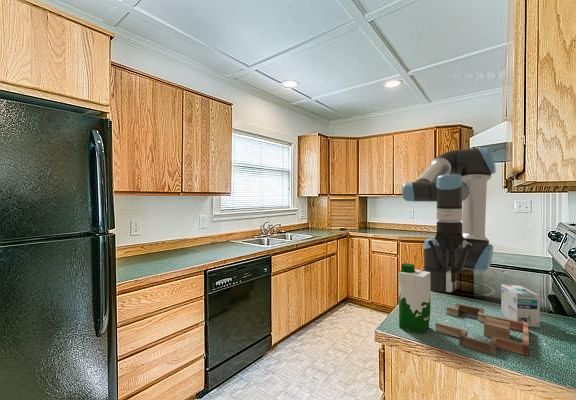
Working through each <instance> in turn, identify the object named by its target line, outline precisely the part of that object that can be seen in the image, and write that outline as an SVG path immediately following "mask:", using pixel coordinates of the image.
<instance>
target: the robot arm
mask: <svg viewBox="0 0 576 400" xmlns="http://www.w3.org/2000/svg"><path fill="white" fill-rule="evenodd" d="M495 161H496V160H495V156H494V151H493V149H492V148H490V147H474V148H463V149H453V150H448V151H447V152H444V153H440V154H439V155H438V156H436V157H435V158H433V159H432V160H431V162H429V164H428V167H427V168H426V170H425V171H424V172H423V173H422V174H421V175H420V176H419V177H418V178H417V179H416V180H415V181H409V182H404V184H403V185H402V189H401V193H402V198H403V200H404V201H406V202H415V203H416V202H428V203H429V202H433V203H434V202H436V220H437V221H436V233H435V236H434V237H431V238H427V239H425V240H424V244H423V245H424V247H423V271H426V272H430V283H431V291H432V292H439V293H453V292H455V291H457V283H456V281H457V273H461V272H462V270H470V271H474V272H475V271H478V272H486V271H488V270H489V269H490V267H491V263H492V259H493V256H494V255H493V254H494V245H493V244H490V239H488V238H487V236H486V217H487V216H486V214H487V213H486V212H487V188H488V187H487V186H488V185H487V182H488V181H489V180H490V179H491V178H492V175H494V174H496V172H497V171H496V169H497V168H496V162H495Z"/></svg>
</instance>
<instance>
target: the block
mask: <svg viewBox="0 0 576 400" xmlns="http://www.w3.org/2000/svg"><path fill="white" fill-rule="evenodd" d="M483 336H484V337H487V338H490V339H491V338H492V336H495V337H499V338H503V339H507V340H510V336H511V329H510V322H506V321H502V320H497V319H493V318H488V317H486V320H485V322H483Z"/></svg>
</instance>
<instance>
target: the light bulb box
mask: <svg viewBox="0 0 576 400" xmlns="http://www.w3.org/2000/svg"><path fill="white" fill-rule="evenodd" d="M500 295H501V301H500V303H501V305H500V306H501V310H500V313H502V315H503V316H504V315H505V316H504V317H505V318H506V319H510V320H515V321H520V322H524V323H528V327H530V328H531V327H533V328H540V325H541V324H540V322H541V321H540V320H541V319H540V310H541V309H540V304H541V303H540V302H541V301H540V298H541V297H540V294H538V293H536V292H534V291H532V290H530V289H528V288H527V287H524V286H523V285H515V284H514V285H513V284H505V283H504V284H503V283H502V284H501V293H500Z"/></svg>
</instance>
